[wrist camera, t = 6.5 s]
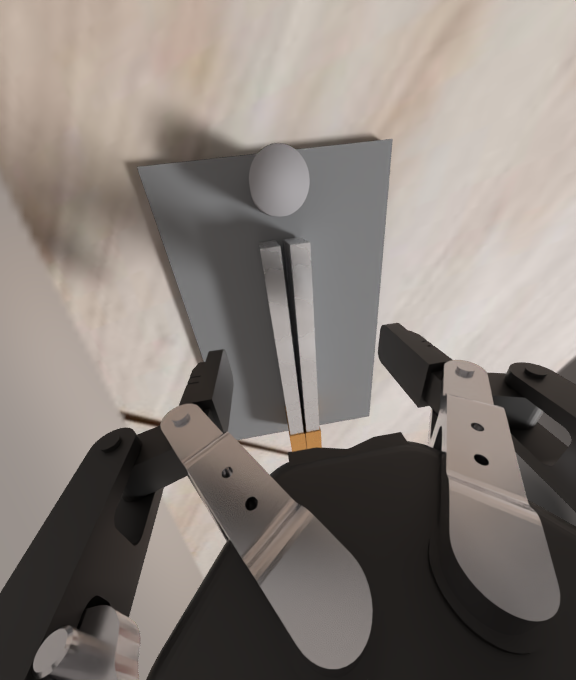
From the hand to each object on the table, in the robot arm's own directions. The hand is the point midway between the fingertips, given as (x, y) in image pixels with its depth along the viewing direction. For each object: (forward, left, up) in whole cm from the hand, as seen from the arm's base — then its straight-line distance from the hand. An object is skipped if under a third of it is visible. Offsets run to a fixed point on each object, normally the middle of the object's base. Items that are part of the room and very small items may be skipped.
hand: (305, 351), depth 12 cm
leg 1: (+5, -1, -8) cm, 9 cm away
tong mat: (+3, 0, -9) cm, 10 cm away
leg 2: (+5, +1, -8) cm, 9 cm away
